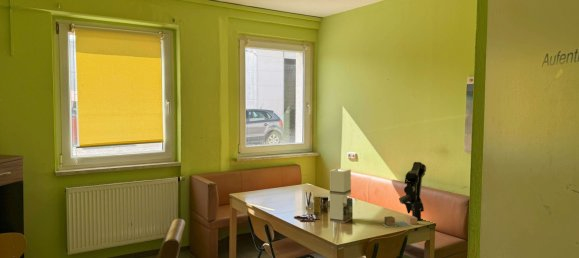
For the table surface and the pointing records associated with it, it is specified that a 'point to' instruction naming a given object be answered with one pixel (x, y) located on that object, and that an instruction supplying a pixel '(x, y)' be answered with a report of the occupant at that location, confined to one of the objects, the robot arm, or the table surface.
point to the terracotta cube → (411, 220)
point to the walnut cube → (389, 221)
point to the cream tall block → (339, 194)
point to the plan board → (397, 224)
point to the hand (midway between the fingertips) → (412, 215)
